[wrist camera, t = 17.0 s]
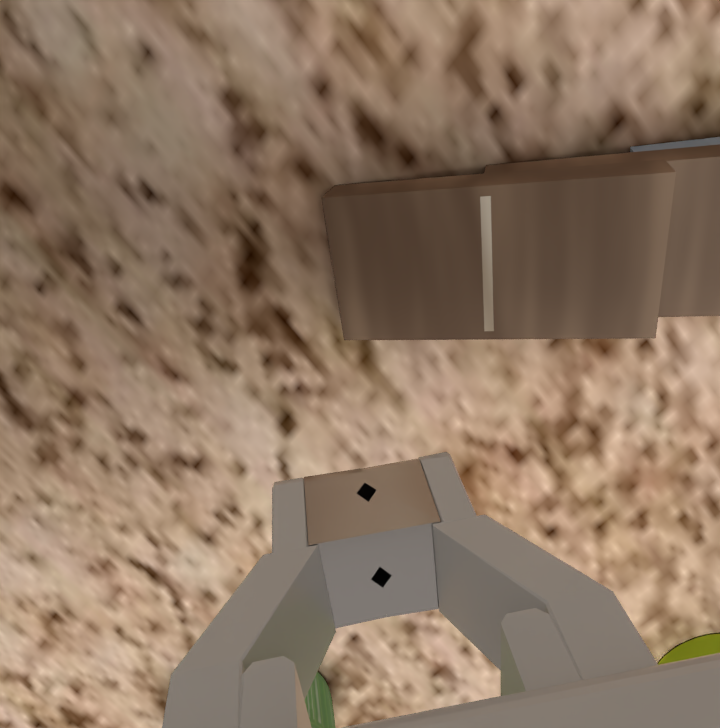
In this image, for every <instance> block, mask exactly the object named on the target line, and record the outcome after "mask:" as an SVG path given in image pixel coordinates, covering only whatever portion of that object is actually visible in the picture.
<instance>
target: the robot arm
mask: <svg viewBox="0 0 720 728" xmlns="http://www.w3.org/2000/svg"><path fill="white" fill-rule="evenodd" d="M433 609H439V611H440V612H441V613H442V614H443V615H444V616H445V617H446V618H447V619H448V620H449V621H450V622H451V623H452V624H453V625H454V626H455V627H456V628H457V629H458V630H459V631H460V632H461V633H462V634H463V635H464V636H465V637H467V638H468V639H469V640H470V641H471V642H472V643H473V644H474V645H475V646H476V647H477V648H478V649H479V650H480V651H481V652H482V653H483V654H484V655H485V656H486V657H487V658H488V659H489V660H490V661H491V662H492V663H493V664H494V665H495V666H496V667H498V668H499V669H500V670H501V696H499V697H494V698H489V699H484V700H479V701H474V702H469V703H464V704H459V705H454V706H449V707H444V708H439V709H434V710H429V711H424V712H419V713H414V714H408V715H403V716H398V717H393V718H388V719H383V720H378V721H373V722H368V723H363V724H358V725H353V726H348V727H343V728H720V653H716V654H711V655H705V656H700V657H695V658H690V659H685V660H680V661H675V662H670V663H665V664H660V665H658V664H657V662H656V661H655V659H654V657H653V656H652V654H651V652H650V651H649V649H648V648H647V646H646V644H645V643H644V641H643V640H642V638H641V636H640V635H639V633H638V631H637V630H636V628H635V627H634V625H633V623H632V622H631V620H630V619H629V617H628V615H627V614H626V612H625V610H624V609H623V607H622V606H621V604H620V602H619V601H618V599H617V598H616V596H615V594H614V593H613V591H611V590H609V589H608V588H606V587H604V586H603V585H601V584H599V583H598V582H596V581H595V580H593V579H591V578H590V577H588V576H586V575H585V574H583V573H581V572H580V571H578V570H576V569H575V568H573V567H571V566H570V565H568V564H566V563H565V562H563V561H561V560H560V559H558V558H556V557H555V556H553V555H551V554H550V553H548V552H546V551H545V550H543V549H541V548H540V547H538V546H536V545H535V544H533V543H531V542H530V541H528V540H527V539H525V538H523V537H522V536H520V535H518V534H517V533H515V532H513V531H512V530H510V529H508V528H507V527H505V526H503V525H502V524H500V523H498V522H497V521H495V520H493V519H492V518H490V517H488V516H487V515H481V516H476V513H475V511H474V509H473V506H472V504H471V502H470V500H469V497H468V495H467V493H466V490H465V488H464V486H463V484H462V481H461V479H460V477H459V474H458V472H457V470H456V467H455V465H454V463H453V461H452V458H451V456H450V454H448V453H447V452H444V453H439V454H434V455H429V456H424V457H419V458H418V459H412V460H407V461H401V462H396V463H390V464H385V465H379V466H374V467H368V468H361V469H354V470H348V471H341V472H334V473H328V474H321V475H315V476H308V477H304V478H297V479H291V480H285V481H279V482H274V485H273V488H272V553H270V554H265V555H263V556H262V557H261V558H260V560H259V561H258V562H257V563H256V565H255V566H254V567H253V569H252V570H251V571H250V573H249V574H248V575H247V576H246V578H245V579H244V580H243V582H242V583H241V584H240V586H239V587H238V588H237V590H236V591H235V592H234V593H233V595H232V596H231V597H230V599H229V600H228V601H227V603H226V604H225V605H224V606H223V608H222V609H221V610H220V612H219V613H218V614H217V616H216V617H215V618H214V619H213V621H212V622H211V623H210V625H209V626H208V627H207V629H206V630H205V631H204V632H203V634H202V635H201V636H200V638H199V639H198V640H197V642H196V643H195V644H194V645H193V647H192V648H191V649H190V651H189V652H188V653H187V655H186V656H185V657H184V658H183V660H182V661H181V662H180V664H179V665H178V666H177V668H176V669H175V670H174V671H173V673H172V674H171V679H170V685H169V690H168V696H167V702H166V708H165V714H164V720H163V726H162V728H312V727H311V723H310V719H309V716H308V712H307V708H306V704H305V701H304V700H305V698H306V695H307V693H308V691H309V689H310V687H311V684H312V682H313V680H314V678H315V676H316V674H317V671H318V669H319V667H320V665H321V663H322V660H323V658H324V656H325V654H326V652H327V650H328V647H329V645H330V643H331V641H332V639H333V636H334V634H335V632H336V630H335V628H339V627H343V626H348V625H352V624H357V623H361V622H366V621H371V620H375V619H380V618H384V617H390V616H396V615H402V614H409V613H415V612H421V611H427V610H433Z"/></svg>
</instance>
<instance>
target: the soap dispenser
mask: <svg viewBox="0 0 720 728" xmlns="http://www.w3.org/2000/svg"><path fill="white" fill-rule="evenodd" d="M716 653H720V634H711V635H705V636H701V637H698V638H695V639H692V640H689V641H687V642H685V643H683V644H681V645H679V646H677V647H676V648H674V649H673V650H671V651H670V652H669V653H668V654H666V655H665V656H664V657H663V658H662V659H661V660H660V662H659V663H658V665H660V664H665V663H670V662H675V661H680V660H685V659H690V658H695V657H700V656H705V655H711V654H716Z"/></svg>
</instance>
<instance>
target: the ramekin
mask: <svg viewBox="0 0 720 728" xmlns="http://www.w3.org/2000/svg"><path fill="white" fill-rule="evenodd" d="M304 701H305V704H306V708H307V712H308V716H309V719H310V723H311V727H312V728H335V720H334V712H333V705H332V699H331V694H330V690H329V687H328V685H327V683H326V681H325V680H324V678H323V677H322V676H321V675H320V674H319V673H318V672H317V674H316V676H315V678H314V680H313V682H312V684H311V687H310V689H309V691H308V693H307V695H306V698H305V700H304Z"/></svg>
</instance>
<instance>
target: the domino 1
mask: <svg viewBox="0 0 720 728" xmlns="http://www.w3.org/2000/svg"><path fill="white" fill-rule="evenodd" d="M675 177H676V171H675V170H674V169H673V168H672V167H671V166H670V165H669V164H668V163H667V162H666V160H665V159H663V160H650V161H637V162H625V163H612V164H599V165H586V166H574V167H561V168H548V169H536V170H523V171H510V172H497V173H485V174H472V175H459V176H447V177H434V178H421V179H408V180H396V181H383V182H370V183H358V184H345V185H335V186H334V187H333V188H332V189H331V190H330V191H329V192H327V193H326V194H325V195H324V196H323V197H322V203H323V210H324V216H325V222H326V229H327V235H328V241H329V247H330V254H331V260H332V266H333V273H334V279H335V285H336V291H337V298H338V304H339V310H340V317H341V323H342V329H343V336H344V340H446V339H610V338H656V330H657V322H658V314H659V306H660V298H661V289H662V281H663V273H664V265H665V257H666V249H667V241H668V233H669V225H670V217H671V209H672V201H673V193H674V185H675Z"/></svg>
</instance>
